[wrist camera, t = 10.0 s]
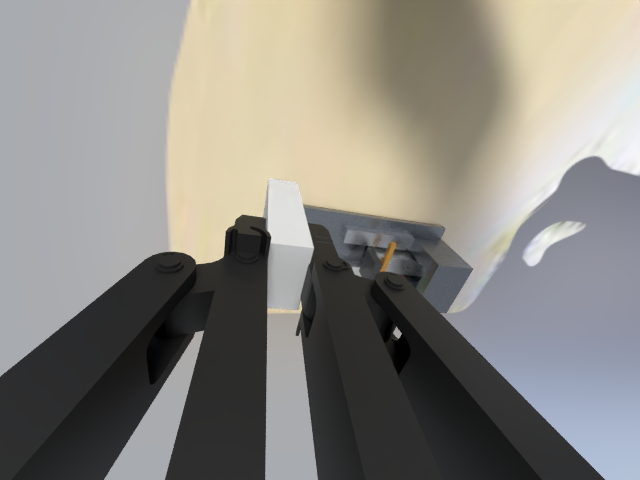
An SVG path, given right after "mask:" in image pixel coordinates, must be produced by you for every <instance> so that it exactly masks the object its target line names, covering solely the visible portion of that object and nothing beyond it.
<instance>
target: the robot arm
mask: <svg viewBox="0 0 640 480" xmlns="http://www.w3.org/2000/svg"><path fill="white" fill-rule="evenodd" d="M300 301H301V302H302V311H301V315H300V319H299V323H298V326H297V330H296V336H298V335H299V333H300V330H301V336H302V345H303V354H304V363H305V372H306V380H307V388H308V397H309V406H310V414H311V423H312V432H313V440H314V449H315V458H316V466H317V474H318V480H605V479H604V478H603V477H602V476H601V475H600V474H599V473H598V472H597V471H596V470H595V469H594V468H593V467H592V466H591V465H590V464H589V463H588V462H587V461H586V460H585V459H584V458H583V457H582V456H581V455H580V454H579V453H578V452H577V451H576V450H575V449H574V448H573V447H572V446H571V445H570V444H569V443H568V442H567V441H566V440H565V439H564V438H563V437H562V436H561V435H560V434H559V433H558V432H557V431H556V430H555V429H554V428H553V427H552V426H551V425H550V424H549V423H548V422H547V421H546V420H545V419H544V418H543V417H542V416H541V415H540V414H539V413H538V412H537V411H536V410H535V409H534V408H533V407H532V406H531V405H530V404H529V403H528V402H527V401H526V400H525V399H524V398H523V396H522V395H521V394H520V393H518V392H517V390H516V389H515V388H514V387H513V386H512V385H511V384H510V383H509V382H507V380H506V379H505V378H504V377H503V376H502V375H501V374H500V373H499V372H498V371H497V370H496V369H495V368H494V367H493V366H492V365H491V364H490V363H489V362H488V361H487V360H486V359H485V358H484V357H483V356H482V355H481V354H480V353H479V352H478V351H477V350H476V349H475V348H474V347H473V346H472V345H471V344H470V343H469V342H468V341H467V340H466V339H465V338H464V337H463V336H462V335H461V334H460V333H459V332H458V331H457V330H456V329H455V328H454V327H453V326H452V325H451V324H450V323H449V322H448V321H447V320H446V319H445V318H444V317H443V316H442V315H441V314H440V313H439V312H438V311H437V310H436V309H435V308H434V307H433V306H432V305H431V304H430V303H429V302H428V301H427V300H426V299H425V298H424V297H423V296H422V295H421V294H420V293H419V292H418V291H417V290H416V289H415V288H414V287H413V286H412V285H411V284H410V283H409V282H408V281H407V280H406V279H405V278H403V277H401V276H399V275H398V274H396V273H392V272H384V271H383V272H379V273H377V274H376V275H375V278H374V280H370V279H367V278H363V277H360V276H358V275H355V274H354V272H353V269H352V267H351V266H350V264H349V263H348V262H346V261H345V260H344V259H342V258H339V256H338V254H337V251H336V249H335V246H334V243H333V241H332V238H331V236H330V233H329V231H328V230H327V229H326V228H325V227H324V226H323V225H319V224H312V223H307V219H306V215H305V211H304V207H303V204H302V200H301V196H300V192H299V188H298V184H297V183H295V182H290V181H284V180H278V179H272V178H269V180H268V187H267V194H266V201H265V208H264V215H263V218H262V217H255V216H247V215H241V216H240V217H239V218H237V219H236V221H235V225H234V226H232V227H229V228H228V229H227V231H226V236H225V251H224V257H223V258H222V259H220V260H218V261H215V262H212V263H206V264H197V265H196V262H195V260H194V259H193V258H192V257H191V256H189V255H187V254H184V253H179V252H163V253H159V254H156V255H152V256H151V257H149V258H147V259H145V260H144V261H143V262H142V263H141V264H139V265H138V266H137V267H135V268H134V269H133V270H132V271H130V272H129V273H128V274H127V275H126V276H124V277H123V278H122V279H121V280H119V281H118V282H117V283H116V284H114V285H113V286H112V287H111V288H110V289H108V290H107V291H106V292H105V293H103V294H102V295H101V296H100V297H98V298H97V299H96V300H95V301H94V302H92V303H91V304H90V305H88V306H87V307H86V308H85V309H83V310H82V311H81V312H80V313H79V314H77V315H76V316H75V317H74V318H72V319H71V320H70V321H69V322H67V323H66V324H65V325H64V326H62V327H61V328H60V329H59V330H58V331H56V332H55V333H54V334H53V335H51V336H50V337H49V338H48V339H46V340H45V341H44V342H43V343H42V344H40V345H39V346H38V347H36V348H35V349H34V350H33V351H32V352H30V353H29V354H28V355H27V356H25V357H24V358H23V359H22V360H20V361H19V362H18V363H17V364H16V365H14V366H13V367H12V368H11V369H9V370H8V371H7V372H6V373H4V374H3V375H2V376H1V377H0V480H104V478H105V477H106V475H107V474H108V472H109V470H110V469H111V467H112V466H113V464H114V462H115V460H116V459H117V458H118V456H119V454H120V453H121V451H122V450H123V448H124V447H125V445H126V443H127V442H128V440H129V439H130V437H131V436H132V434H133V432H134V431H135V429H136V428H137V426H138V424H139V423H140V421H141V420H142V418H143V416H144V415H145V413H146V412H147V410H148V408H149V407H150V405H151V404H152V402H153V401H154V399H155V397H156V396H157V394H158V393H159V391H160V389H161V388H162V386H163V384H164V383H165V381H166V380H167V378H168V377H169V375H170V374H171V372H172V370H173V369H174V367H175V366H176V364H177V362H178V361H179V359H180V358H181V356H182V354H183V353H184V351H185V350H186V348H187V346H188V345H189V343H190V342H191V340H192V339H193V337H194V334H195V332H198V331H203V330H204V334H203V338H202V341H201V345H200V349H199V353H198V357H197V360H196V364H195V368H194V372H193V376H192V380H191V383H190V387H189V391H188V395H187V398H186V402H185V406H184V410H183V414H182V418H181V421H180V425H179V429H178V433H177V436H176V440H175V444H174V448H173V452H172V455H171V459H170V463H169V467H168V471H167V474H166V478H165V480H265V447H266V445H265V444H266V442H265V441H266V366H267V365H266V364H267V308H273V309H292V310H298V309H299V305H300ZM396 326H397V328H398V329H399V330H400V332H401V333H402V335H401V337H400V338H399V339H398V338H397V337H395V335H394V334H393V331H394V330H395V328H396Z"/></svg>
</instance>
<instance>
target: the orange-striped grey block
mask: <svg viewBox="0 0 640 480" xmlns="http://www.w3.org/2000/svg"><path fill="white" fill-rule="evenodd" d="M395 247H396V243H395V242H389V245H388V247H387V248H379V247H371V246H368V248H367V250H366V253H365V256H364V258H363V261H362V264H361V267H360V269H359V272H360V274H361V276H362V277H363V278H367V279H370V280H374V278H375V275H376V274H377V273H379V272H383V271H384V272H392V273H396V274H403V275H413V276H422V275H423V274H424V272H425V269H424V268H423V267H422V266H421V265H420V263H419V262H418V261H417V260H416V258H415V257H414V256H413V255H412V253H411V252H410V251H404V250H396V249H395Z"/></svg>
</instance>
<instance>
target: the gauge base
mask: <svg viewBox="0 0 640 480" xmlns="http://www.w3.org/2000/svg"><path fill="white" fill-rule="evenodd" d="M303 207H304V211H305V215H306V219H307V223H312V224H319V225H323V226H324V227H325V228H326V229H327V230H328V231H329V233H330V236H331V238H332V241H333V243H334V246H335V249H336V251H337V254H338V256H339V258H342V259H344V260H345V261H346V262H348V263H349V264H350V266H351V267H352V269H353V272H354V274H355V275H358V276H360V277H362V276H361V274H360V272H359V269H360V267H361V264H362V261H363V258H364V256H365V253H366V250H367V248H368V246H371V247H379V248H387V247H388V245H389V242H395V243H396V247H395V249H396V250H404V251H410V252H411V253H412V255H413V256H414V257H415V258H416V260H417V261H418V262H419V263H420V265H421V266H422V267H423V268H424V269H425V272H424V274H423V275H422V276H413V275H403V274H398V275H399V276H401V277H403V278H405V279H406V280H407V281H408V282H409V283H410V284H411V285H412V286H413V287H414V288H415V289H416V290H417V291H418V292H419V293H420V294H421V295H422V296H423V297H424V298H425V299H426V300H427V301H428V302H429V303H430V304H431V305H432V306H433V307H434V308H435V309H436V310H437V311H438V312H439V313H447V311H448V310H449V308H450V306H451V305H452V303H453V301H454V300H455V298H456V296H457V295H458V293H459V292H460V290H461V288H462V287H463V285H464V283H465V282H466V280H467V278H468V277H469V275H470V274H471V272H472V270H473V268H472V267H471V266H470V265H468V264H467V263H466V262H465V261H464V260H463V259H462V258H461V257H460V256H459V255H458V254H457V253H456V252H454V251H453V250H452V249H451V248H450V247H449V246H448V245H447V244H446V243H445V242H444V241H443V240H442V239H441V237H442V235H443V233H444V231H445V228H444V227H443V226H438V225H432V224H425V223H419V222H412V221H406V220H399V219H393V218H386V217H380V216H373V215H367V214H360V213H354V212H347V211H341V210H334V209H328V208H321V207H315V206H308V205H303Z"/></svg>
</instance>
